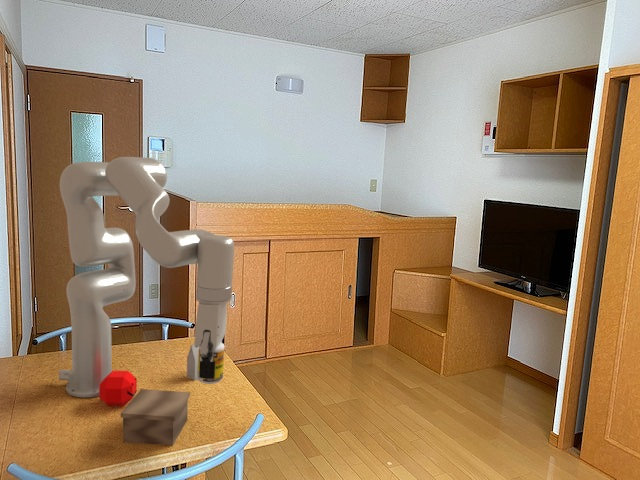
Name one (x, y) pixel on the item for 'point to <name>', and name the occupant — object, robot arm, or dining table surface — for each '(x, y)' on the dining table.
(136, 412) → the walnut box
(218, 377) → the supplement bottle
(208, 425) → the dining table surface
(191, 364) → the white carton
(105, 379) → the ball
